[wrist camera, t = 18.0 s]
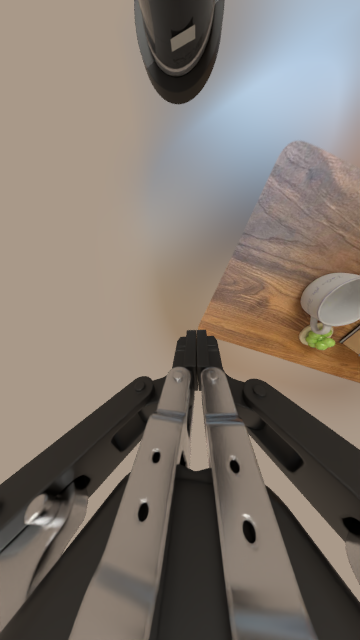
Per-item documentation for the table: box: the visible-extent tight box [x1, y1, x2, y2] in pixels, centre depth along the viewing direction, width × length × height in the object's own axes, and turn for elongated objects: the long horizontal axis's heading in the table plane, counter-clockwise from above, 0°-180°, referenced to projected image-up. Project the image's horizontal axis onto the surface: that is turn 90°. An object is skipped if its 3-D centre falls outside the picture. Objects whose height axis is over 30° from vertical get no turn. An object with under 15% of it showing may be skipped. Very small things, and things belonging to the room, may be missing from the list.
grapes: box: [299, 322, 335, 350], centre depth 37 cm, size 8×8×5 cm
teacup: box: [301, 273, 360, 335], centre depth 30 cm, size 14×11×8 cm
